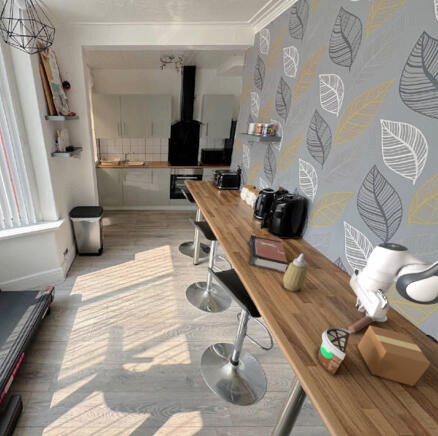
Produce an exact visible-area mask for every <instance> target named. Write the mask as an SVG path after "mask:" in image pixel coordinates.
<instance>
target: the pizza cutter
mask: <svg viewBox="0 0 438 436" xmlns="http://www.w3.org/2000/svg"><path fill="white" fill-rule="evenodd" d="M387 320H388V316H387V314H386V315H385V317H384V318H383V319H378V318H374V317H371V316H370V315H369V314H368V312H367V310H366V309H365V316H364V317H362V318H361V319H359V320H358V321H356V322H354V323H352V324H351V325H349V326H348V329H347V330H349V331H351V334H355V333H357V332H359V331H360V330H362V329H364V328H365V327H366V326H369V325H370V324H371V323H374V322H377V323H378V322H380V323H386V321H387Z"/></svg>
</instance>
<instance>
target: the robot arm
mask: <svg viewBox="0 0 438 436" xmlns="http://www.w3.org/2000/svg"><path fill="white" fill-rule="evenodd" d="M394 282H395V290H396V292H397V293H398V294H399V295H400V297H402V298H403V299H405V300H406V301H408V302H411V303H414V304H418V305H424V306H430V305H437V304H438V260H437V261H436V262H434V263H432V262H429V261H428V260H424V259H422V258H420V257H419V256H417V255H415V254H414V253H413V252H411V250H410V249H409V248H408V247H406V246H405V245H402V244H399V243H394V242H382V243H379V244H378V245H376V246H375V247H374V248H373V249H372V251H371V253H370V254H369V256H368V258H367V260H366V265H365V266H364V267H363V268H360V267H354V269H353V273H352V274H351V277H350V279H349V286H350V287H351V289H352V291H353V292H354V294H355V295H356V304H355V308H356V309H357V311H358V312H359V313H364V312H366V310H367V312H368V314H369V315H370V316H371V317H374V318H378V319H383V318H384V317H385V315H386V316H387V313H388V311H389V308H390V300H388V299H389V298H388V297H387V295H386V294H388V293H389V291H390V289H391V287H392V286H393V284H394Z"/></svg>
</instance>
